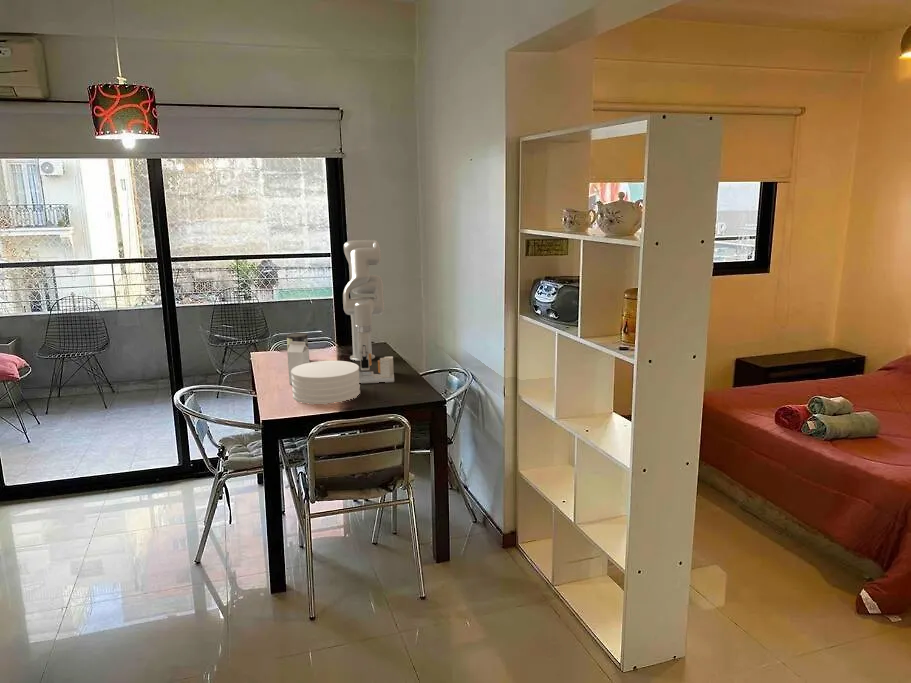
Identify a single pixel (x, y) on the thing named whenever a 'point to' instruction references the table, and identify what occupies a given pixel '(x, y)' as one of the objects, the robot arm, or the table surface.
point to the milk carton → (297, 356)
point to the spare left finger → (390, 364)
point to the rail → (376, 378)
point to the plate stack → (325, 382)
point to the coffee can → (297, 338)
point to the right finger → (368, 361)
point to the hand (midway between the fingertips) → (365, 366)
